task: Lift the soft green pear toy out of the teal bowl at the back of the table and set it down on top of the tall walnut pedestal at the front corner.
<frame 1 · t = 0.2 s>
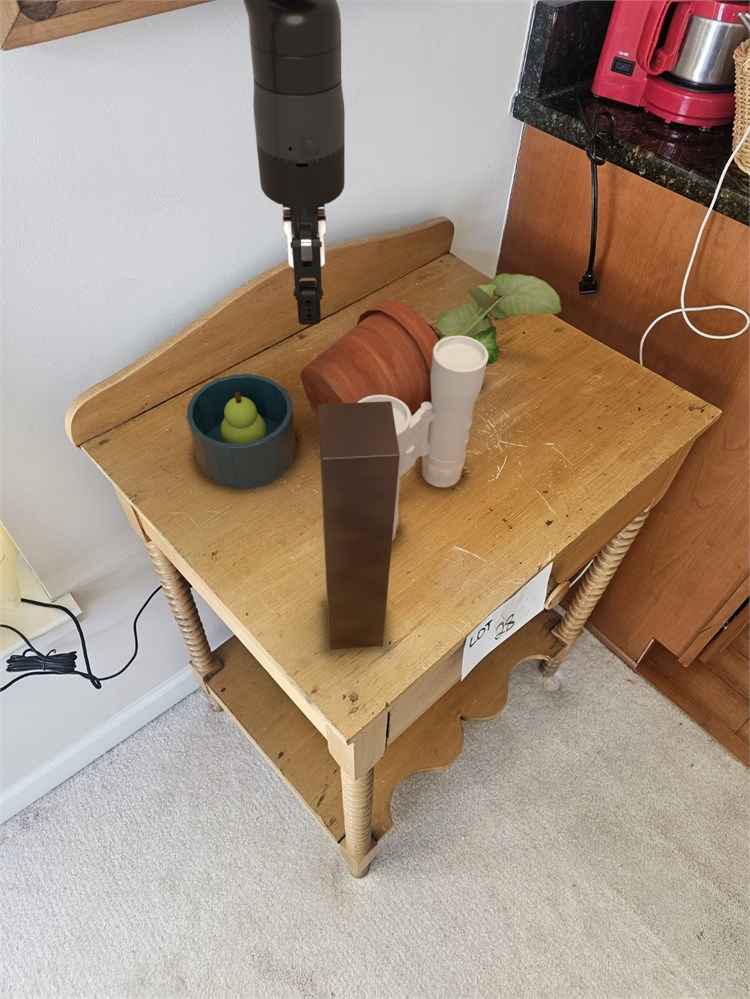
hand: (308, 296, 72), 19 cm above the table, tool pointing down, fingers open, 8 cm apart
pear: (246, 446, 83), point 1 cm above the table, touching teal bowl
pedestal: (354, 624, 70), on the table
potted plant: (428, 384, 92), on the table
binoculars: (409, 502, 80), on the table
teal bowl: (247, 451, 84), on the table
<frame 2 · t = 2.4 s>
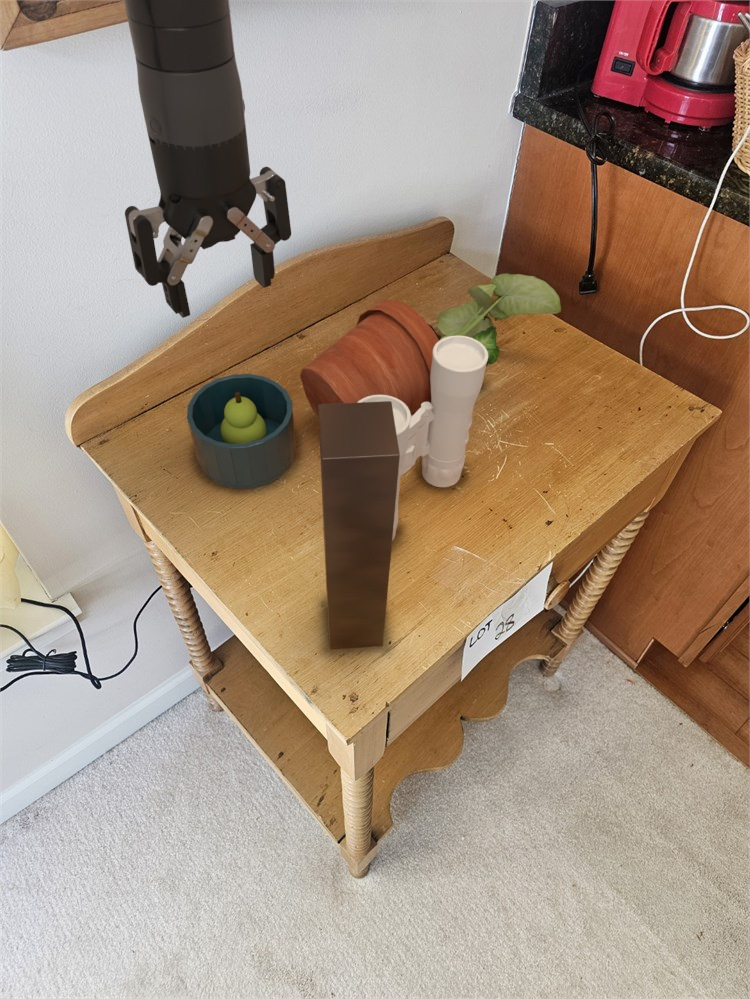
hand: (223, 297, 67), 22 cm above the table, tool pointing down, fingers open, 8 cm apart
nothing on the table moved.
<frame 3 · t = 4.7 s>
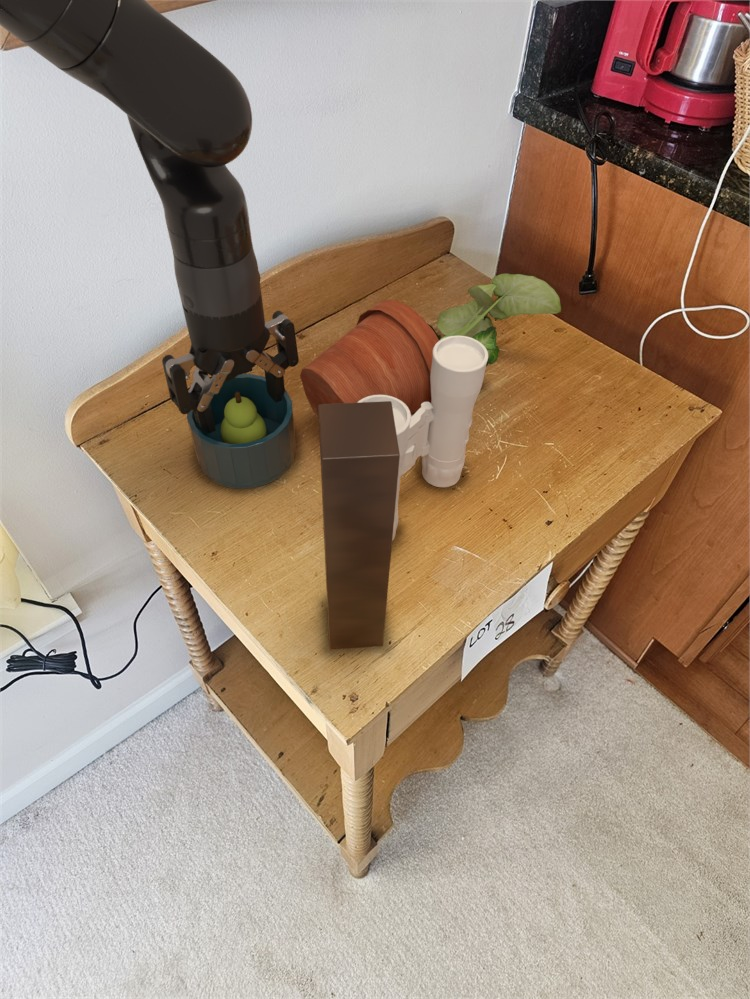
hand: (242, 412, 79), 6 cm above the table, tool pointing down, fingers open, 8 cm apart
nothing on the table moved.
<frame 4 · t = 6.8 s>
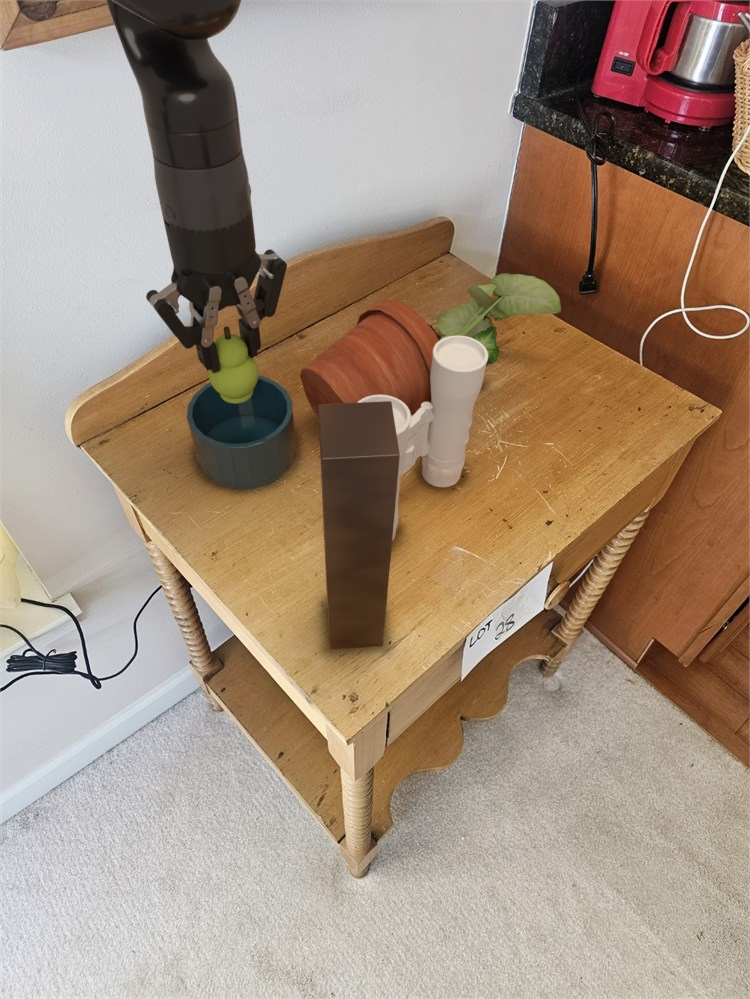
hand: (231, 359, 72), 14 cm above the table, tool pointing down, fingers closed on pear, 3 cm apart
pear: (236, 392, 76), point 10 cm above the table, touching gripper
everything else where it was.
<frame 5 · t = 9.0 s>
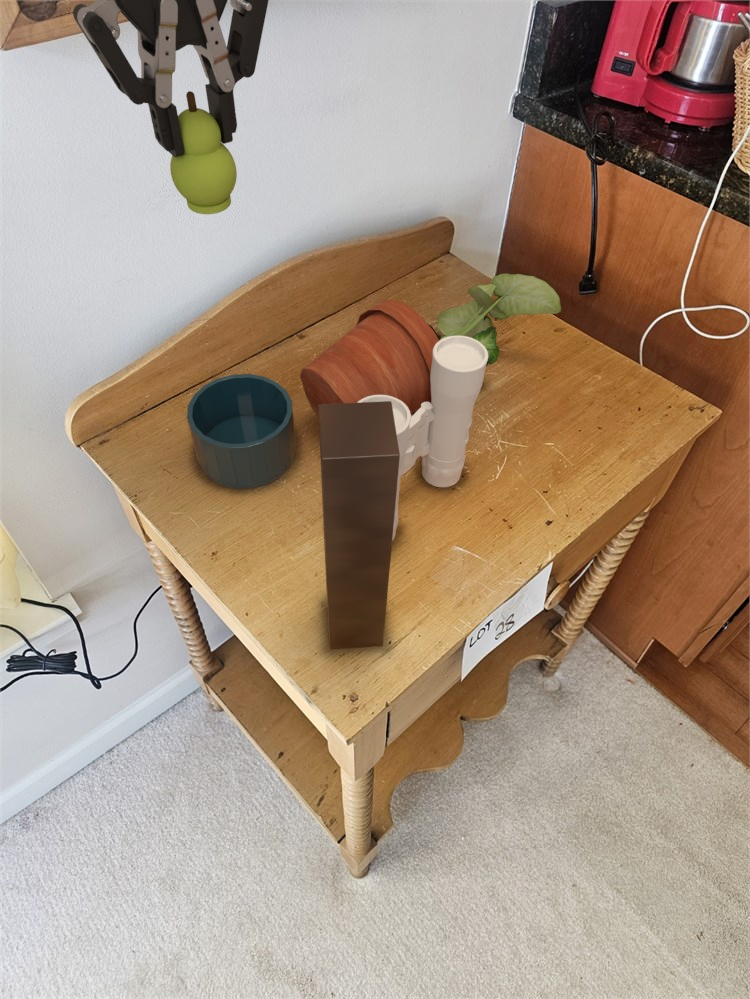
hand: (198, 144, 55), 36 cm above the table, tool pointing down, fingers closed on pear, 3 cm apart
pear: (209, 202, 59), point 31 cm above the table, touching gripper
everything else where it was.
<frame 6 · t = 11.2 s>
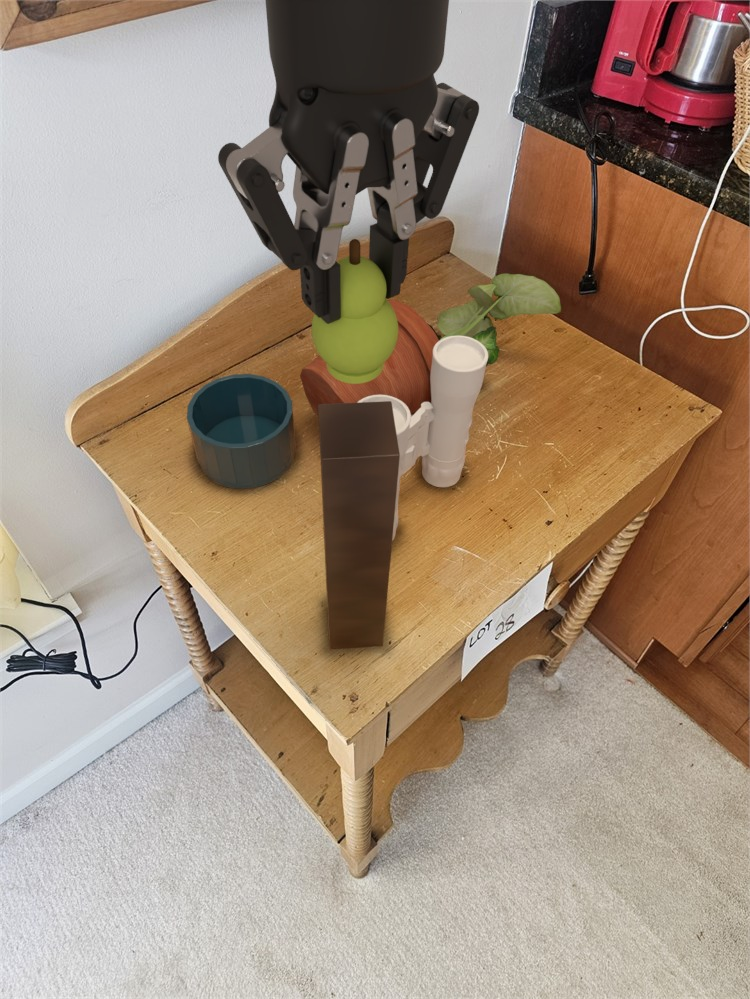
hand: (354, 301, 40), 38 cm above the table, tool pointing down, fingers closed on pear, 3 cm apart
pear: (355, 364, 44), point 33 cm above the table, touching gripper
everything else where it was.
when the fingers open (33 cm above the table, at t = 12.7 s): pear stays where it is, resting on pedestal.
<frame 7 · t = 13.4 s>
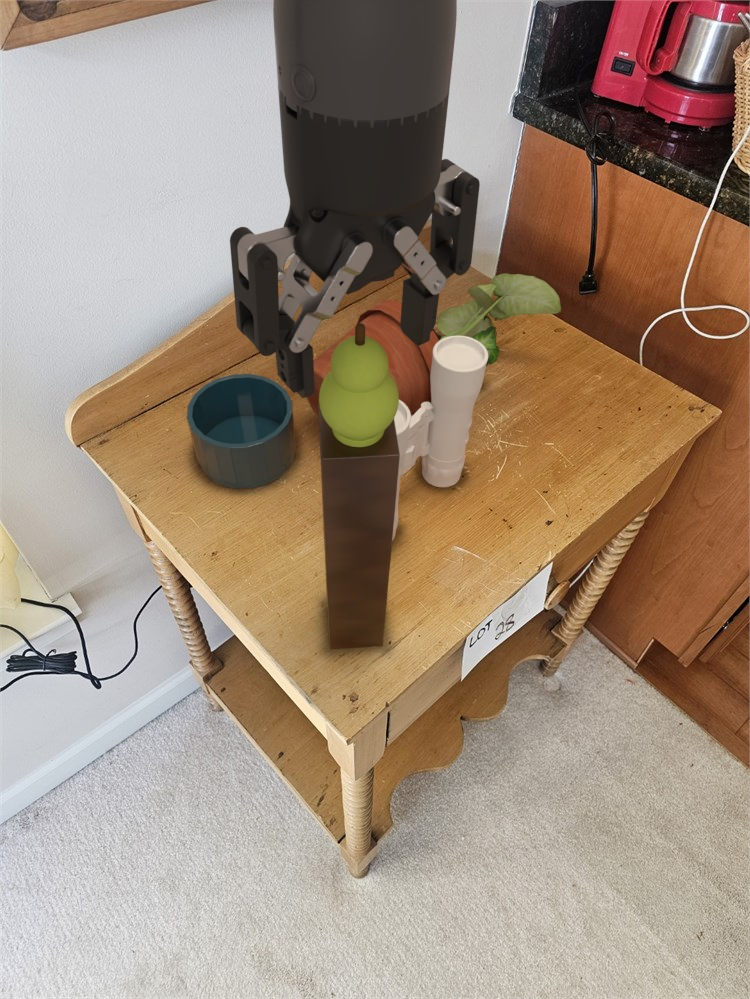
hand: (359, 362, 43), 34 cm above the table, tool pointing down, fingers open, 8 cm apart
pear: (358, 428, 48), point 28 cm above the table, touching pedestal
everything else where it was.
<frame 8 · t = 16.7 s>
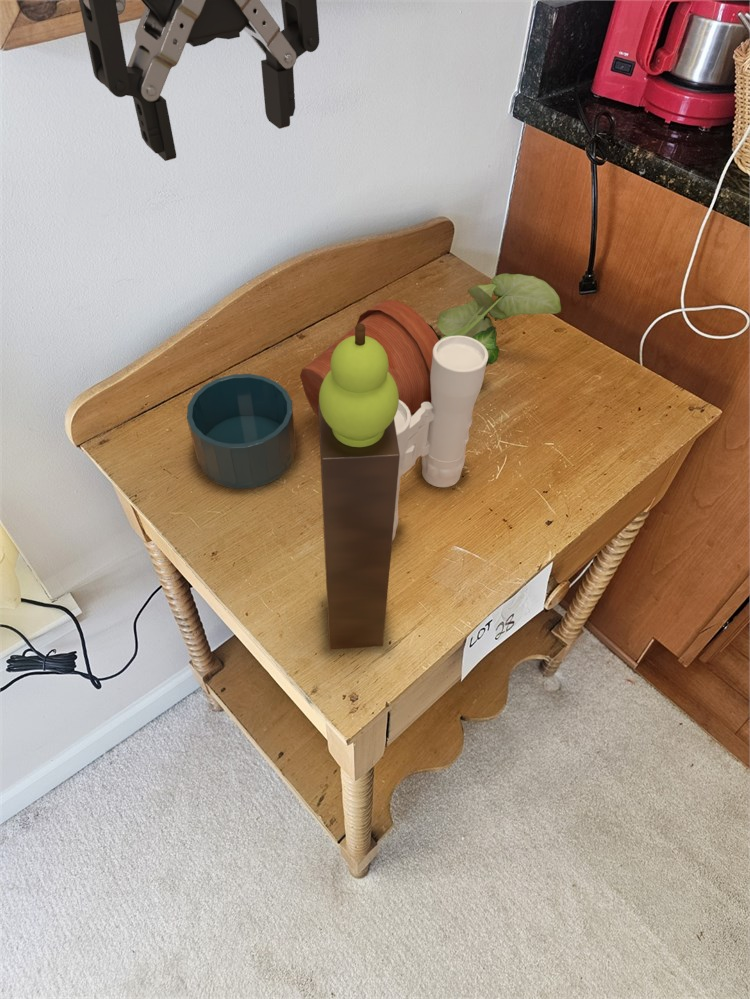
hand: (223, 139, 47), 40 cm above the table, tool pointing down, fingers open, 8 cm apart
nothing on the table moved.
at the end: pear 0.1 cm off-centre on the pedestal, point 28.0 cm above the pedestal's base; pear tilted 0°; the gripper is holding nothing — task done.
